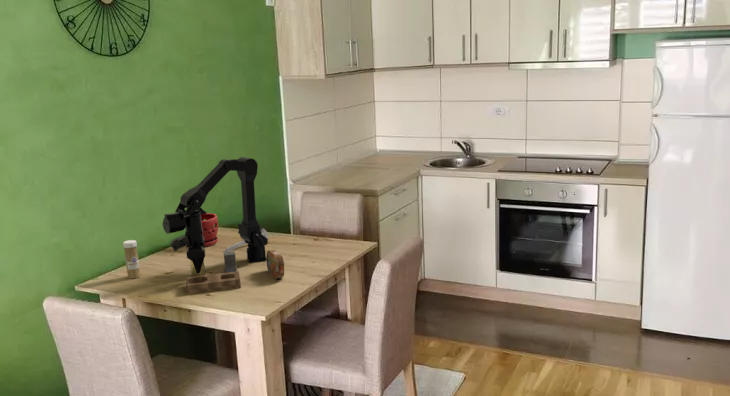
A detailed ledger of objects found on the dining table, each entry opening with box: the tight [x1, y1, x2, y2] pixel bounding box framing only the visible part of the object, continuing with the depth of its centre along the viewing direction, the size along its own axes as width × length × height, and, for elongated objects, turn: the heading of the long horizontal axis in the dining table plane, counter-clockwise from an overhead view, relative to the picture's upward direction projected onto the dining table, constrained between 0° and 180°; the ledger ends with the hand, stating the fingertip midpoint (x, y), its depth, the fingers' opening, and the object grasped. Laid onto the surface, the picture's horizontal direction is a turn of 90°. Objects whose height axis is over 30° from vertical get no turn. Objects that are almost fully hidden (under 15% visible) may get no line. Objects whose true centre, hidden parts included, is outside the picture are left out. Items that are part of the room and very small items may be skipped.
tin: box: [266, 249, 285, 280], centre depth 241 cm, size 15×3×8 cm, turn 23°
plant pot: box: [201, 212, 219, 248], centre depth 284 cm, size 13×13×12 cm
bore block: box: [185, 270, 242, 295], centre depth 233 cm, size 18×9×3 cm, turn 103°
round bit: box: [189, 259, 207, 277], centre depth 245 cm, size 5×5×7 cm
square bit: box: [223, 250, 238, 273], centre depth 248 cm, size 4×4×7 cm
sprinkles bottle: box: [122, 239, 141, 279], centre depth 246 cm, size 5×5×14 cm
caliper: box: [223, 227, 269, 253], centre depth 279 cm, size 20×1×6 cm, turn 129°
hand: (198, 269), depth 246 cm, fingers open, 8 cm apart
